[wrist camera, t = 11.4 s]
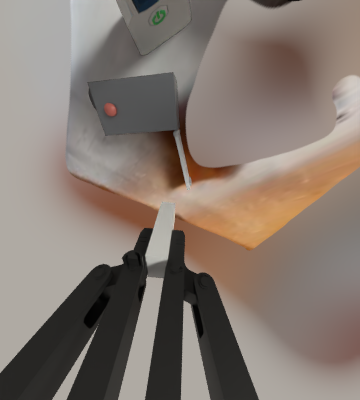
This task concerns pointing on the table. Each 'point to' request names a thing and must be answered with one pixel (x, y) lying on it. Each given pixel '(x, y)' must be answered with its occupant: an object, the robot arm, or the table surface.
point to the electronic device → (154, 20)
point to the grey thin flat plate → (182, 158)
